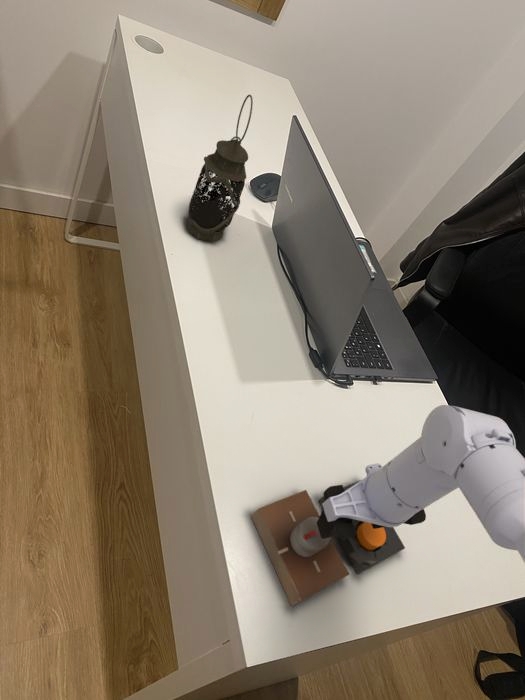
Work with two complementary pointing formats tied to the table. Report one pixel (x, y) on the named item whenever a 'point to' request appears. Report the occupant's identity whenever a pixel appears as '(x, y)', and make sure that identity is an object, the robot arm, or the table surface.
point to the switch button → (370, 536)
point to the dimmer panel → (291, 568)
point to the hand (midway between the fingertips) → (347, 525)
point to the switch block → (365, 557)
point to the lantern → (226, 166)
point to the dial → (307, 538)
